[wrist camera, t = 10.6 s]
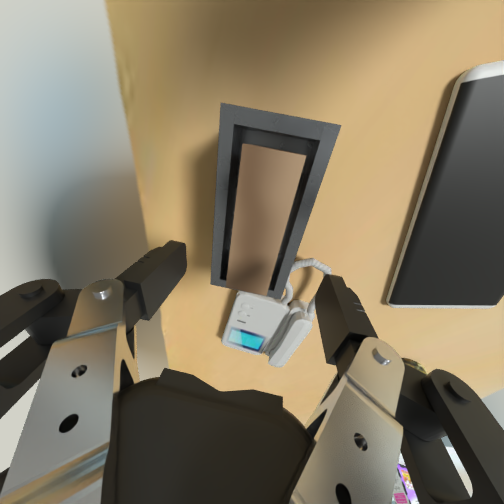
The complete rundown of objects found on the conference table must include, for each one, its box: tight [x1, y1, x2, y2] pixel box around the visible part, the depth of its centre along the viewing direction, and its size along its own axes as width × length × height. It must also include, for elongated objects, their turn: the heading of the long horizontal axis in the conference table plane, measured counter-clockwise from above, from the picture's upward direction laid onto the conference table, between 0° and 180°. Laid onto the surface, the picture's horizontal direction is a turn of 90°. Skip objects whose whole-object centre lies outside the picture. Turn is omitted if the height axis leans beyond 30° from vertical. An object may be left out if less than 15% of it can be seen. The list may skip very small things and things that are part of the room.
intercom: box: [221, 258, 331, 367], centre depth 30 cm, size 13×4×25 cm
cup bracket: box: [210, 103, 341, 300], centre depth 19 cm, size 8×16×8 cm, turn 171°
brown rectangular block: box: [226, 144, 306, 296], centre depth 16 cm, size 4×12×5 cm, turn 171°
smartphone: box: [386, 60, 504, 309], centre depth 20 cm, size 13×27×2 cm, turn 8°
